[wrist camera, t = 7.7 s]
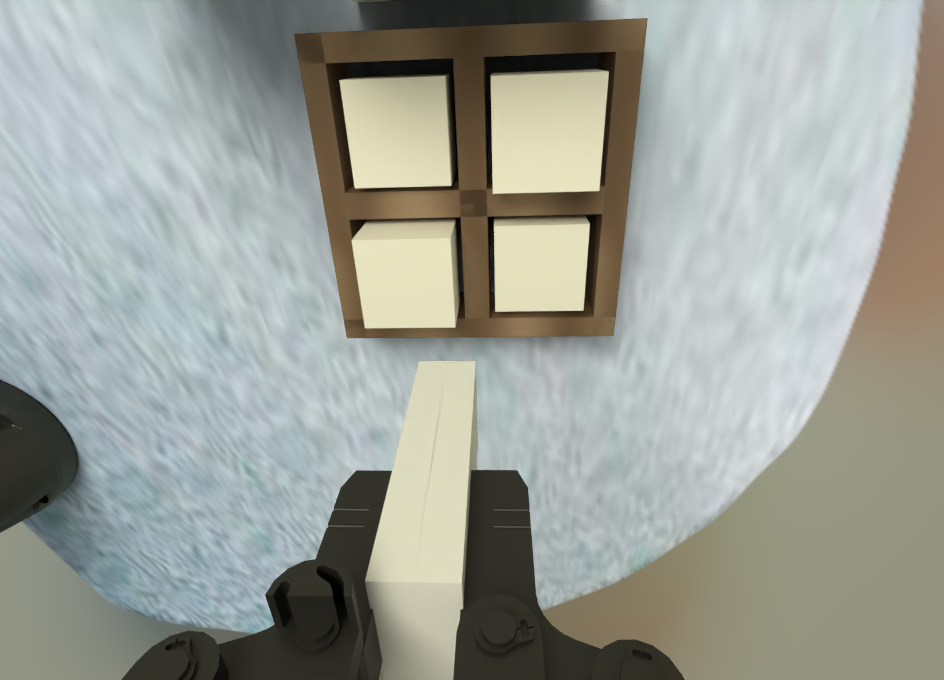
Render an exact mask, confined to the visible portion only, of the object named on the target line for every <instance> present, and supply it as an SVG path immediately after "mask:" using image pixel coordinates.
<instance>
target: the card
mask: <svg viewBox="0 0 944 680" xmlns="http://www.w3.org/2000/svg"><path fill="white" fill-rule="evenodd" d="M353 1H356V2H371V1H392V0H353Z"/></svg>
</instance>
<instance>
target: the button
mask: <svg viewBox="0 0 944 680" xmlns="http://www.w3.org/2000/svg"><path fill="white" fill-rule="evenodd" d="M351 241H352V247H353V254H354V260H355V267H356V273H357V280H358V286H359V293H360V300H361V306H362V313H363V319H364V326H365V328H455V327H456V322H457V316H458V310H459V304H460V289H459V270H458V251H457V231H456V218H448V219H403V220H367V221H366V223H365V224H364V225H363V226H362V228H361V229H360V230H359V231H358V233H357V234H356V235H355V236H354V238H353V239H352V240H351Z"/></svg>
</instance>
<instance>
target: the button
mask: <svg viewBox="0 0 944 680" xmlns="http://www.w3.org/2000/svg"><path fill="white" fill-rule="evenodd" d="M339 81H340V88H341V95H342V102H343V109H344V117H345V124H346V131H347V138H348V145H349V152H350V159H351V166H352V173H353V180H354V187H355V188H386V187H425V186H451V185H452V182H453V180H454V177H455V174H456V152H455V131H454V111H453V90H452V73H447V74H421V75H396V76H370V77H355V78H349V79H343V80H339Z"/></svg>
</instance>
